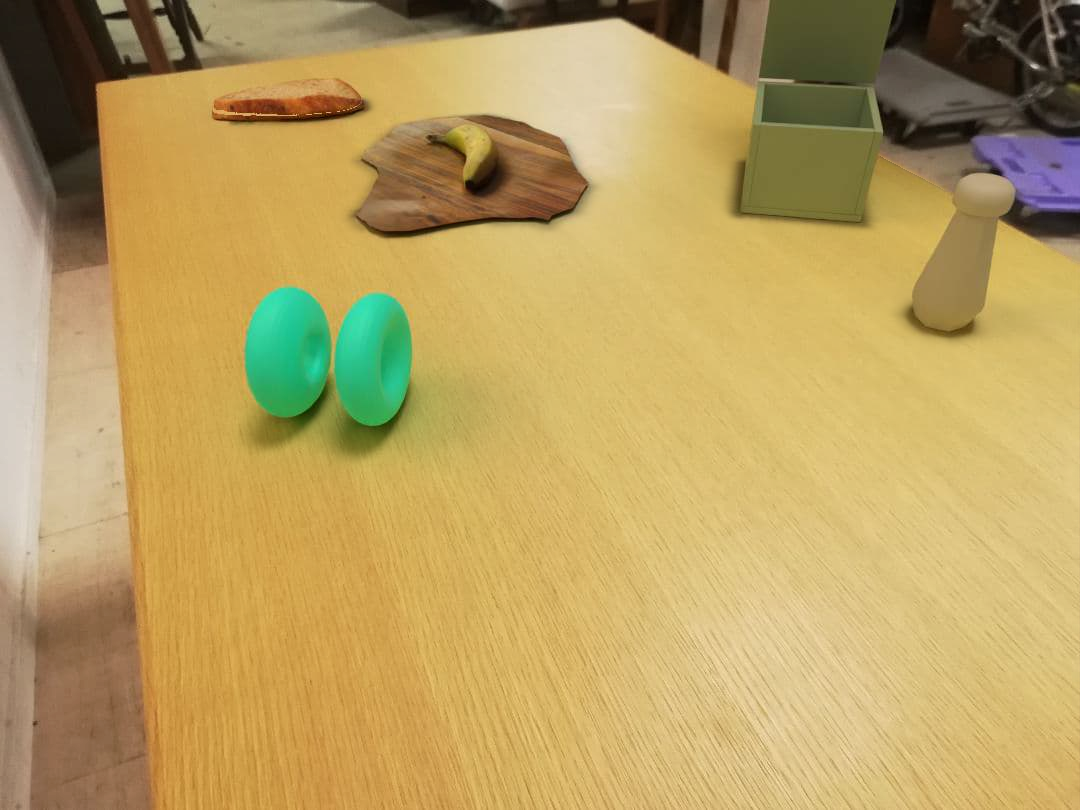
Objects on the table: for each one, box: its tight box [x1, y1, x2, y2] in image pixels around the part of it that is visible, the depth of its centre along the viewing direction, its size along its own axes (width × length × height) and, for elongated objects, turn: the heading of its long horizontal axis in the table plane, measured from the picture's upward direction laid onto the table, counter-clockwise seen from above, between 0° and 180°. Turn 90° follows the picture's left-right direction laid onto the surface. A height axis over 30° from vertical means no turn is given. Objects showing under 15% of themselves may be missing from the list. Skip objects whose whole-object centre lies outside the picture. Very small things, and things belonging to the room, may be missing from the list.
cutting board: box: [356, 114, 590, 232], centre depth 96 cm, size 35×27×4 cm
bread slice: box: [211, 77, 365, 122], centre depth 114 cm, size 18×18×4 cm
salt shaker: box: [911, 172, 1017, 333], centre depth 65 cm, size 6×6×13 cm
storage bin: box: [739, 80, 884, 223], centre depth 87 cm, size 14×13×10 cm
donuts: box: [244, 286, 413, 427], centre depth 59 cm, size 10×10×10 cm
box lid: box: [758, 0, 897, 85], centre depth 85 cm, size 14×13×5 cm
